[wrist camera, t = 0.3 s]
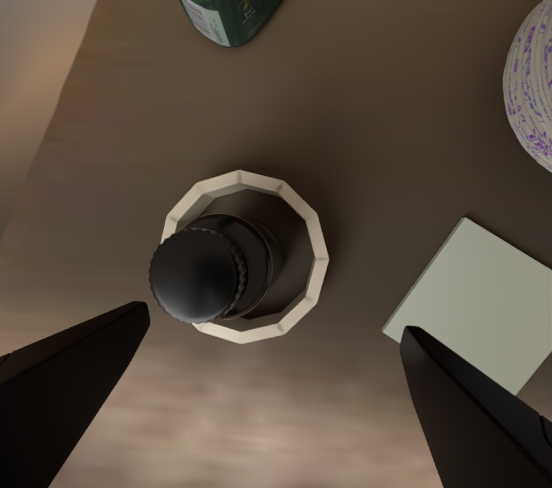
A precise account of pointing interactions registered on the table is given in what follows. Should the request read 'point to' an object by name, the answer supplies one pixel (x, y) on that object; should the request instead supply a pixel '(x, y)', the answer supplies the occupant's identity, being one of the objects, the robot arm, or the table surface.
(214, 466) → the table surface
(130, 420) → the table surface
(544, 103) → the paper bowls
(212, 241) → the supplement bottle
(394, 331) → the mat
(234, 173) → the ring holder
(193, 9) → the coffee jar
